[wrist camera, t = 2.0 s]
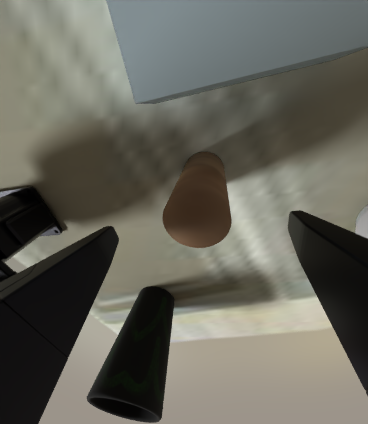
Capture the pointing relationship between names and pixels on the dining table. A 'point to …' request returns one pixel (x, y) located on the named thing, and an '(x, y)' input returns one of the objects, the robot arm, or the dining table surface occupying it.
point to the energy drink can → (362, 223)
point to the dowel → (199, 203)
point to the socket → (229, 40)
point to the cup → (138, 361)
